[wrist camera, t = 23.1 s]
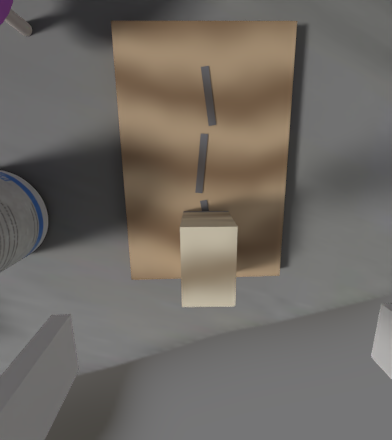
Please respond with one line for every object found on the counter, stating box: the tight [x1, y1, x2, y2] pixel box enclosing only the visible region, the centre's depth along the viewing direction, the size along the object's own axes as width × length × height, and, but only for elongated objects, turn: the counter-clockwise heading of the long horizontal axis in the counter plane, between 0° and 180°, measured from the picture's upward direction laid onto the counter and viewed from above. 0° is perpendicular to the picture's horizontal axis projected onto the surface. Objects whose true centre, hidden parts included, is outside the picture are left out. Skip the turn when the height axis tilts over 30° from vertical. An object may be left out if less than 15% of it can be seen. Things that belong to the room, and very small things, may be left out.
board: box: [111, 21, 297, 280], centre depth 25 cm, size 24×16×2 cm, turn 1°
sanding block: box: [180, 211, 238, 307], centre depth 23 cm, size 7×4×6 cm, turn 0°
